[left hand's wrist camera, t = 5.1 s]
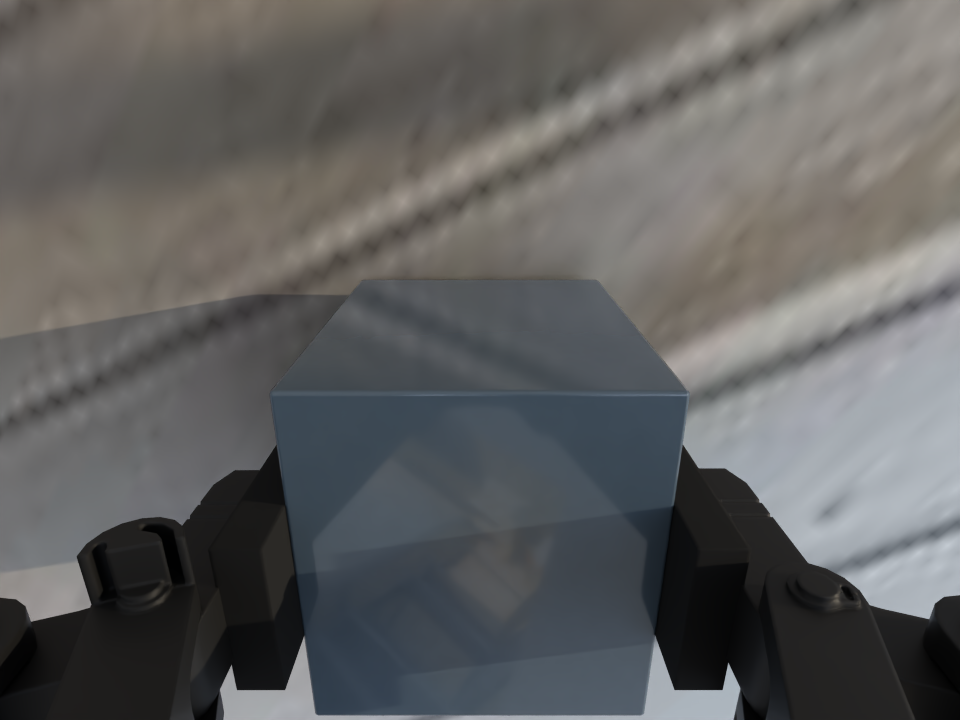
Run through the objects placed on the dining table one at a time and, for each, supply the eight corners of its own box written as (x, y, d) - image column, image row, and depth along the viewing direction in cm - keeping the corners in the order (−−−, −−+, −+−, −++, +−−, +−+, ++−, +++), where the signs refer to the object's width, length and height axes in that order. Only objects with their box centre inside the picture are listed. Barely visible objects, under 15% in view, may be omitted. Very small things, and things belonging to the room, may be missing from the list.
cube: (582, 496, 17) (644, 717, 11) (377, 496, 17) (314, 717, 11) (598, 279, 15) (692, 391, 8) (361, 279, 15) (267, 391, 8)
